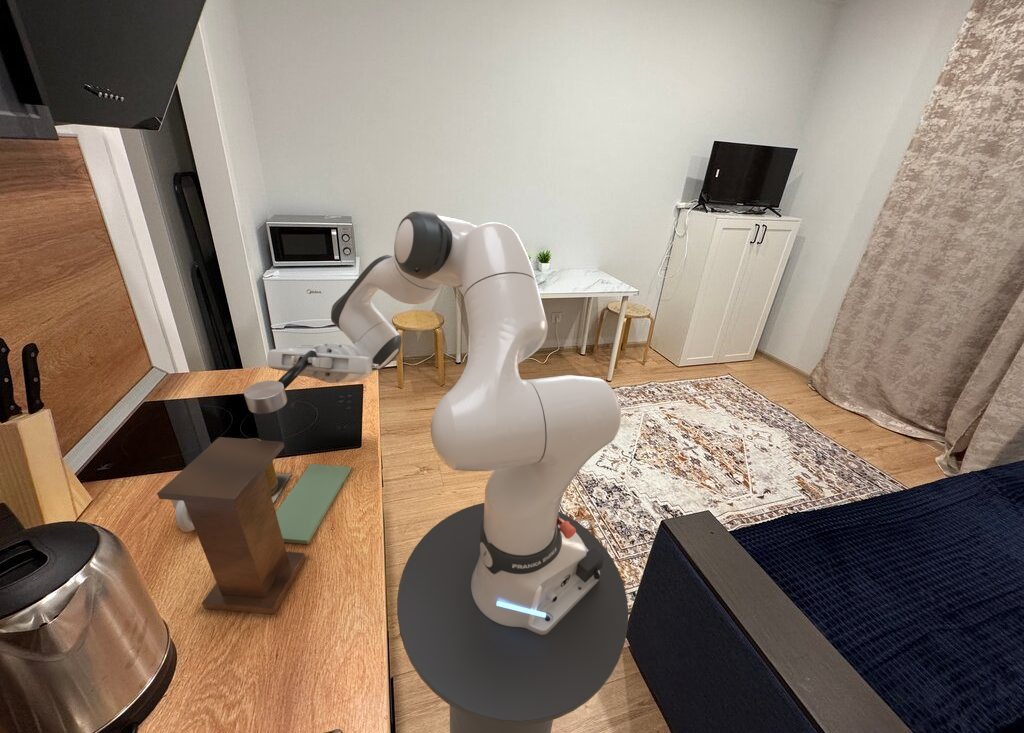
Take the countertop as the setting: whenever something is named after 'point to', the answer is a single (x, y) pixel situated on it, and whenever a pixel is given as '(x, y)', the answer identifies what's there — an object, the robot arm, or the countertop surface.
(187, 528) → the cup
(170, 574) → the countertop surface
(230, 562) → the stand
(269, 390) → the measuring scoop
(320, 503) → the mat
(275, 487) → the condiment
